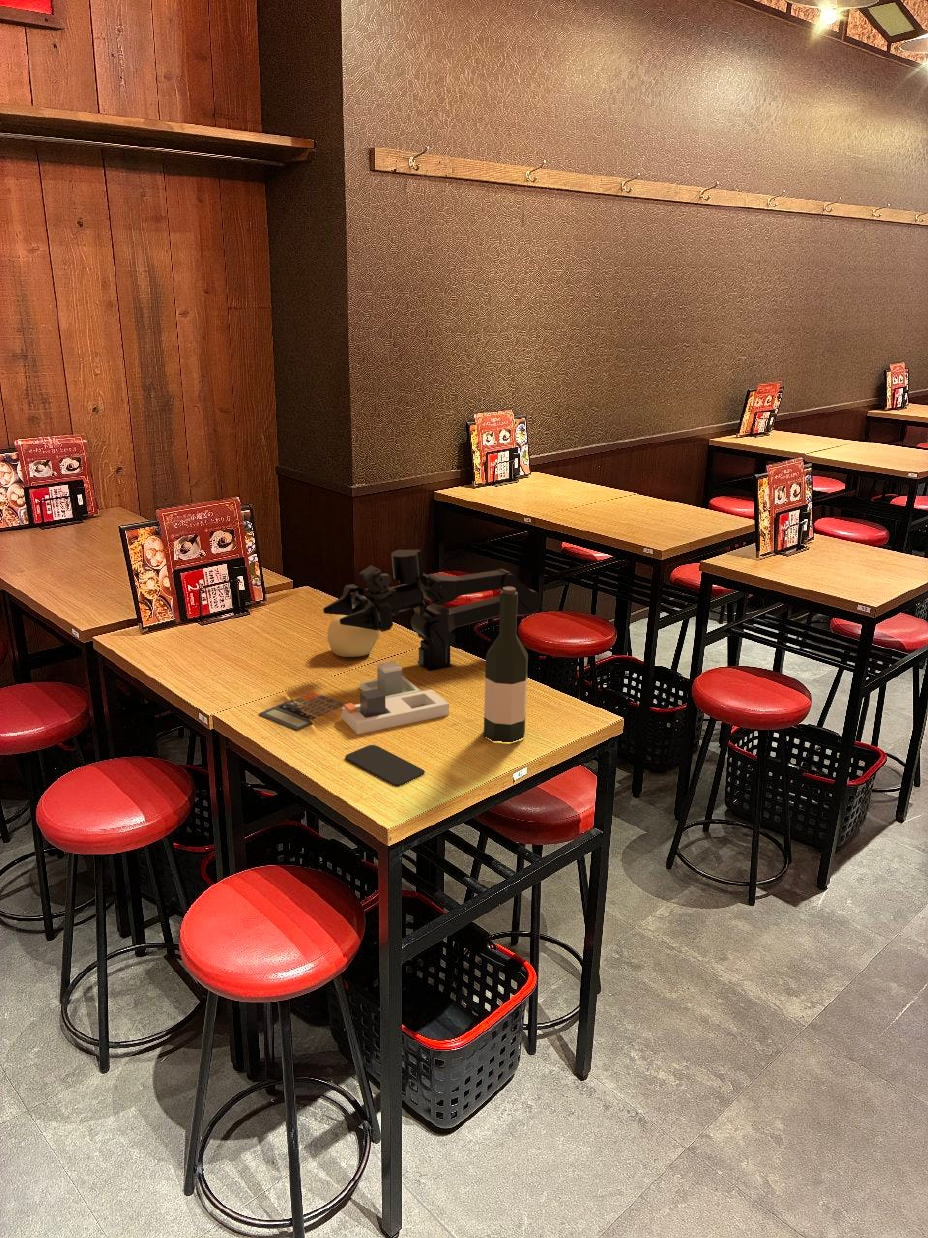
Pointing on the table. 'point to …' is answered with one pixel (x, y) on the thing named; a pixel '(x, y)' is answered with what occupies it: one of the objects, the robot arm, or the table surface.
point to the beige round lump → (350, 639)
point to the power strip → (392, 710)
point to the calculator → (299, 711)
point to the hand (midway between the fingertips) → (331, 616)
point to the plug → (389, 678)
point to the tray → (406, 689)
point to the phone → (384, 765)
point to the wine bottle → (506, 676)
